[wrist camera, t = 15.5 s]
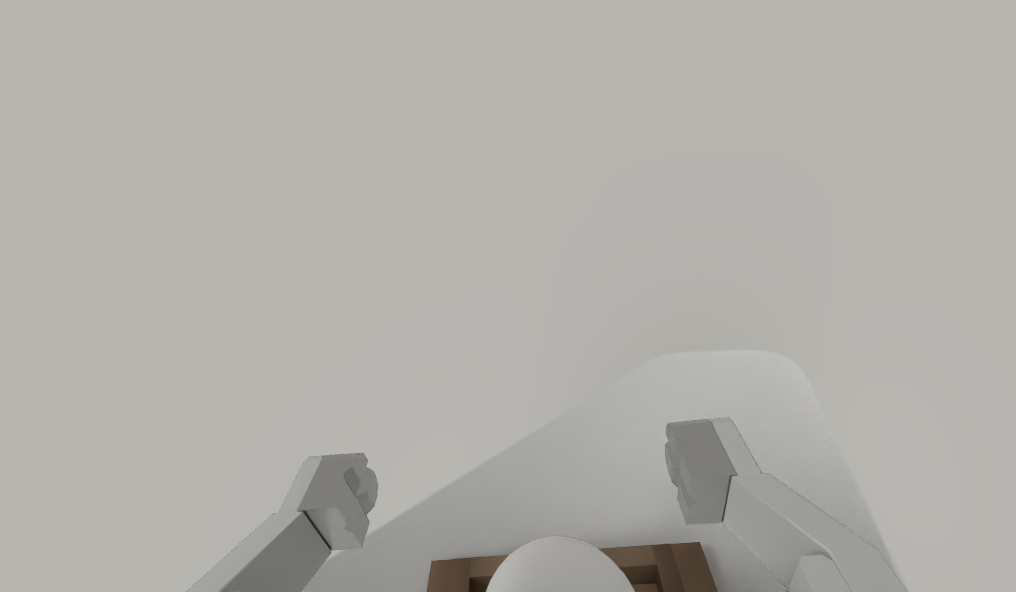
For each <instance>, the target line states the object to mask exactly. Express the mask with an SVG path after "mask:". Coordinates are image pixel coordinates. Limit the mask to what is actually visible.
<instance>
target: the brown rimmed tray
mask: <svg viewBox="0 0 1016 592" xmlns="http://www.w3.org/2000/svg"><path fill="white" fill-rule="evenodd" d="M599 550H600V551H601V552H603V553H604V554H605V555H606V556H608V557H609V558H610V559H611V560H612V561H613V562H614V563H615V564H616V565H617V566H618V567H619V569H620V570H621V571H622V572H623V573H624V574H625V576H626V577H627V579H628V581H629V582H630V584H631V586H632V587H633V589H634V591H635V592H717V589H716V587H715V584H714V581H713V578H712V575H711V573H710V570H709V567H708V564H707V561H706V559H705V556H704V553H703V550H702V547H701V545H700V542H694V543H680V544H660V545H646V546H631V547H617V548H603V549H599ZM508 556H509V555H503V556H489V557H475V558H461V559H452V560H438V561H432V563H431V569H430V576H429V582H428V588H427V592H486V590H487V588H488V585H489V583H490V580H491V579H492V577H493V575H494V574H495V572H496V570H497V569H498V567H499V566H500V565H501V564H502V562H503V561H504V560H505V559H506V558H507V557H508Z"/></svg>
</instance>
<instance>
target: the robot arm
mask: <svg viewBox="0 0 1016 592" xmlns="http://www.w3.org/2000/svg"><path fill="white" fill-rule="evenodd" d="M666 435H667V438H668V442H667V443H666V444H665V457H666V464H667V468H668V472H669V475H670V478H671V481H672V483H674V484H675V485H676V486H677V487H678V501H679V504H680V507H681V510H682V513H683V516H684V518H685V521H686V524H703V523H723V525H724V526H725V527H726V528H727V529H728V530H729V531H730V532H731V533H732V534H733V535H734V536H735V537H736V538H737V539H738V540H739V541H740V542H741V543H742V544H743V545H744V546H745V547H746V548H747V549H748V550H749V551H750V552H751V553H752V554H753V555H754V556H755V557H756V558H757V559H758V560H759V561H760V562H761V563H762V564H763V565H764V566H765V567H766V568H767V569H768V570H769V571H770V572H771V573H772V574H773V575H774V576H775V577H776V578H777V579H778V580H779V581H780V582H781V583H782V584H783V585H784V586H785V587H786V588H787V589H788V592H907V590H906V589H905V587H904V586H903V585H902V583H901V582H900V580H899V579H898V577H897V576H896V574H895V573H894V572H893V570H892V569H891V567H890V566H889V564H888V563H887V562H886V560H885V559H884V557H883V556H882V554H881V553H880V551H879V550H878V549H877V548H875V547H874V546H872V545H871V544H869V543H868V542H867V541H865V540H864V539H862V538H861V537H859V536H858V535H857V534H855V533H854V532H852V531H851V530H849V529H848V528H846V527H845V526H844V525H842V524H841V523H839V522H838V521H836V520H835V519H834V518H832V517H831V516H829V515H828V514H826V513H825V512H824V511H822V510H821V509H819V508H818V507H816V506H815V505H813V504H812V503H811V502H809V501H808V500H806V499H805V498H803V497H802V496H801V495H799V494H798V493H796V492H795V491H793V490H792V489H791V488H789V487H788V486H786V485H785V484H783V483H782V482H781V481H779V480H778V479H776V478H775V477H773V476H772V475H770V474H769V473H767V474H762V472H761V470H760V469H759V467H758V465H757V463H756V461H755V460H754V458H753V456H752V454H751V453H750V451H749V449H748V447H747V445H746V444H745V442H744V440H743V438H742V437H741V435H740V433H739V431H738V429H737V428H736V426H735V424H734V422H733V421H732V420H731V419H730V418H729V417H728V418H717V419H708V420H707V419H703V420H693V421H684V422H675V423H668V424H667V426H666ZM367 462H368V460H367V458H366V456H365V455H364V453H354V454H339V455H325V456H313V457H308V458H307V459H306V460H305V461H304V462H303V464H302V466H301V468H300V470H299V472H298V474H297V476H296V478H295V480H294V482H293V484H292V486H291V488H290V490H289V492H288V494H287V496H286V498H285V500H284V502H283V504H282V507H281V508H280V510H279V512H278V513H276V514H272V515H271V516H270V517H269V518H268V519H267V520H265V521H264V522H263V523H262V524H261V525H260V526H259V527H258V528H257V529H255V531H253V532H252V533H251V534H250V535H249V536H248V537H247V538H245V539H244V540H243V541H242V542H241V543H240V544H239V545H238V546H237V547H235V548H234V550H232V551H231V552H230V553H229V554H228V555H226V557H224V558H223V559H222V560H221V561H220V562H219V563H218V564H216V565H215V566H214V567H213V568H212V569H211V570H210V571H209V572H208V573H207V574H205V575H204V576H203V577H202V578H201V579H200V580H199V581H198V582H197V583H195V584H194V585H193V586H192V587H191V588H190V589H189V590H188V591H186V592H301V591H302V589H303V588H304V587H305V586H306V584H307V583H308V582H309V581H310V579H311V578H312V577H313V575H314V574H315V573H316V572H317V570H318V569H319V568H320V567H321V565H322V564H323V563H324V562H325V560H326V559H327V558H328V556H329V555H330V554H331V551H332V550H342V549H352V548H362V546H363V542H364V539H365V536H366V533H367V529H368V526H369V520H368V518H367V514H368V513H369V512H370V510H371V509H372V508H373V507H374V506H375V502H376V499H377V491H378V483H377V478H376V475H375V473H374V471H373V470H371V469H369V468H367V467H366V465H367Z"/></svg>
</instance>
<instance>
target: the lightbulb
mask: <svg viewBox="0 0 1016 592" xmlns="http://www.w3.org/2000/svg"><path fill="white" fill-rule="evenodd" d="M486 592H635V591H634V589H633V587H632V586H631V584H630V582H629V581H628V579H627V577H626V576H625V574H624V573H623V572H622V571H621V570H620V569H619V567H618V566H617V565H616V564H615V563H614V562H613V561H612V560H611V559H610V558H609V557H608V556H606V555H605V554H604V553H603V552H601V551H600V550H599V549H598V548H596V547H594V546H592V545H590V544H588V543H587V542H585V541H581V540H578V539H575V538H572V537H564V536H550V537H543V538H539V539H536V540H532V541H530V542H528V543H526V544H524V545H522V546H521V547H519V548H518V549H516V550H515V551H514V552H513V553H511V554H510V555H509V556H508V557H507V558H506V559H505V560H504V561H503V562H502V564H501V565H500V566H499V567H498V569H497V570H496V572H495V574H494V575H493V577H492V579H491V580H490V583H489V585H488V588H487V590H486Z"/></svg>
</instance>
